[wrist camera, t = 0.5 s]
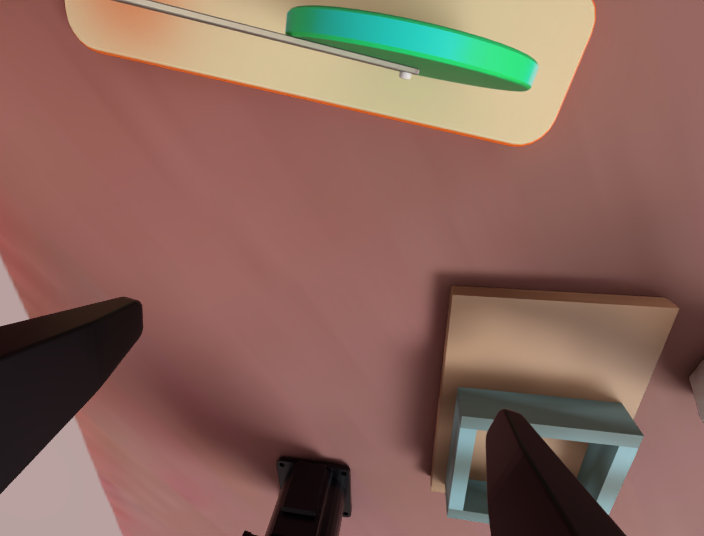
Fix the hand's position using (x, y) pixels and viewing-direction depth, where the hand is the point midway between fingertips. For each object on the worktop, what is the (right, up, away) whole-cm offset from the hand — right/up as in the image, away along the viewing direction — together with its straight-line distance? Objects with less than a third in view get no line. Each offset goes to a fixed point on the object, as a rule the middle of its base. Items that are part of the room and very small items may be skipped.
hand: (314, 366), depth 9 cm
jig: (+13, -7, +17) cm, 23 cm away
